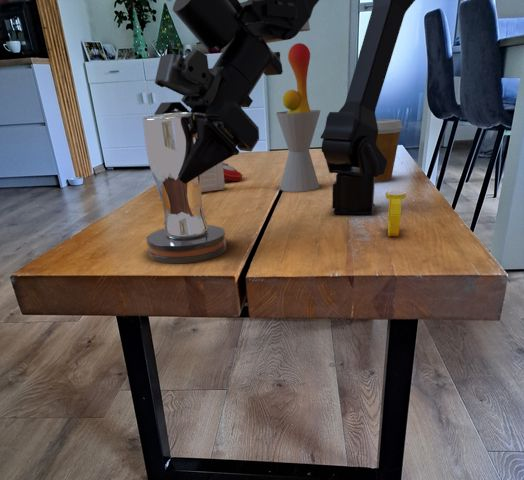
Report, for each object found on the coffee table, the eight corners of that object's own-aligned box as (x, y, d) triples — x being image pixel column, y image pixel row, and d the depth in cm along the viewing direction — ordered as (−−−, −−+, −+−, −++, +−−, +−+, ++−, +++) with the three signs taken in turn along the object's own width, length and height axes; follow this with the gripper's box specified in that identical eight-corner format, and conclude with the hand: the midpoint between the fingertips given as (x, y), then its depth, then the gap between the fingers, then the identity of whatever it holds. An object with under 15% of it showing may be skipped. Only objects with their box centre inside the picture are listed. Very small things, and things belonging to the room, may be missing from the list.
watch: (382, 228, 75) (385, 188, 72) (401, 228, 74) (404, 187, 71) (383, 239, 70) (386, 196, 67) (403, 239, 69) (407, 196, 66)
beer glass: (219, 225, 70) (205, 110, 63) (198, 241, 65) (180, 117, 57) (176, 224, 73) (158, 113, 65) (152, 239, 67) (129, 120, 59)
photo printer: (220, 187, 112) (215, 128, 106) (228, 189, 109) (223, 129, 103) (178, 193, 108) (170, 132, 102) (184, 196, 105) (176, 133, 99)
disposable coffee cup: (353, 177, 114) (354, 120, 109) (394, 174, 114) (398, 118, 108) (358, 184, 106) (361, 124, 100) (402, 182, 106) (407, 121, 100)
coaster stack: (236, 240, 73) (235, 224, 72) (210, 264, 64) (208, 247, 63) (169, 239, 76) (166, 223, 75) (135, 262, 66) (131, 244, 65)
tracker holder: (251, 174, 118) (214, 169, 112) (246, 192, 120) (210, 188, 115) (228, 158, 126) (193, 152, 120) (224, 175, 128) (189, 170, 122)
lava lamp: (309, 182, 112) (308, -6, 95) (327, 188, 104) (329, -14, 87) (272, 186, 109) (264, -5, 92) (288, 193, 102) (283, -14, 85)
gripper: (157, 35, 66) (94, 133, 66) (229, 16, 52) (150, 140, 52) (214, 96, 73) (158, 184, 73) (290, 94, 59) (221, 202, 59)
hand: (169, 178), depth 64 cm, fingers closed on beer glass, 7 cm apart
